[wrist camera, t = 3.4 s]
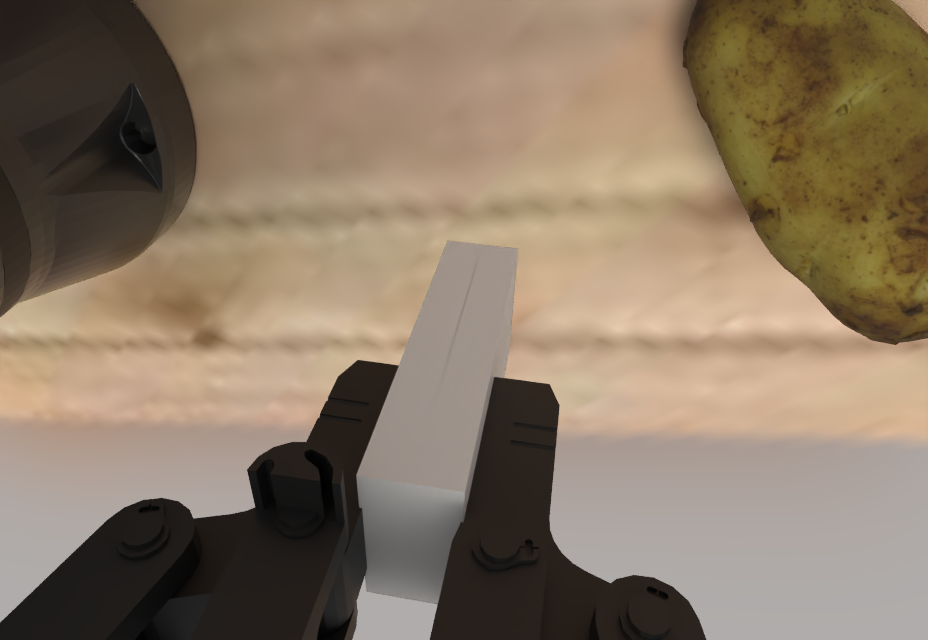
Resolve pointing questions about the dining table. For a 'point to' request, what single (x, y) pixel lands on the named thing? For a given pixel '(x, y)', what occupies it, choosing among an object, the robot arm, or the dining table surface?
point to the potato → (826, 145)
